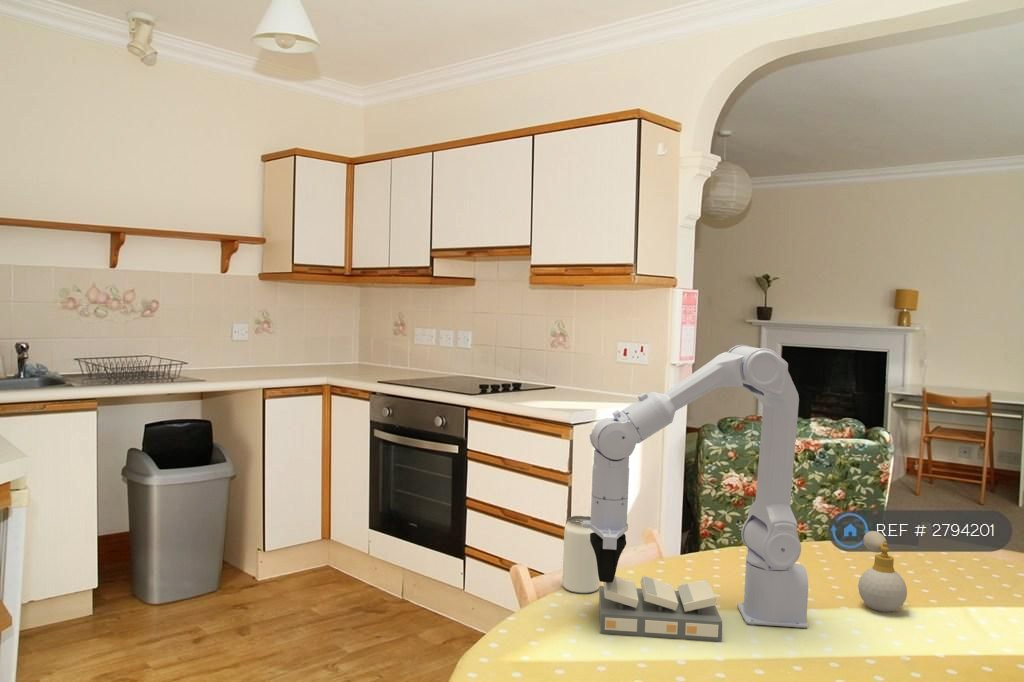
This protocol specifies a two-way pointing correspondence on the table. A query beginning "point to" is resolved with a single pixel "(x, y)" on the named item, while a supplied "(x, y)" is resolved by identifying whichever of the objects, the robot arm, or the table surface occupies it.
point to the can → (579, 558)
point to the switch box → (658, 620)
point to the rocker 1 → (621, 591)
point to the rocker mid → (659, 593)
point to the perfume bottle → (881, 578)
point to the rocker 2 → (696, 595)
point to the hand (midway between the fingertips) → (606, 580)
